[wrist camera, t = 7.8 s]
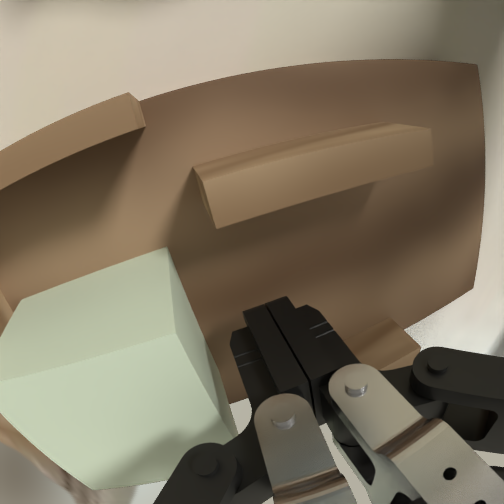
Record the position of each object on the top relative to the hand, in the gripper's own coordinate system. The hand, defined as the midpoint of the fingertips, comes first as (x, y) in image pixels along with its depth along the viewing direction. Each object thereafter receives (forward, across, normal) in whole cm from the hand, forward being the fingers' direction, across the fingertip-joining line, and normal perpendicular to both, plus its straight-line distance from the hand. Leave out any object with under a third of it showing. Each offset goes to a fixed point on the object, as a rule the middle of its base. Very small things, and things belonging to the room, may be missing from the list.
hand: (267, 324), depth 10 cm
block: (+2, +5, 0) cm, 6 cm away
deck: (+4, +1, -1) cm, 4 cm away
